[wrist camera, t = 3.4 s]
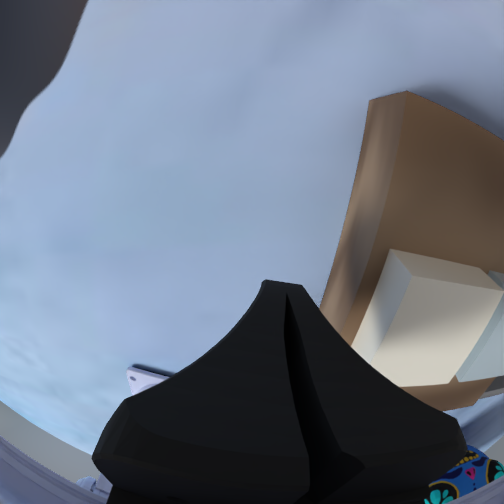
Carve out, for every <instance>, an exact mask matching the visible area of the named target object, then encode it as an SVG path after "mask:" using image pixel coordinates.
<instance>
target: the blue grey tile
mask: <svg viewBox="0 0 504 504" xmlns="http://www.w3.org/2000/svg"><path fill="white" fill-rule="evenodd" d="M488 276H489V277H490V278H491V279H492V280H493V281H494V282H495V283H496V284H497V285H498V286H500V287H501V288H502V289H503V290H504V274H503V273H499V272H495V271H490V270H489V273H488ZM455 375H456V377H457V379H458V381H459V382H466V381H473V380H480V379H486V378H492V377H498V376H503V375H504V293H503V296H502V298H501V300H500V302H499V304H498V306H497V308H496V309H495V311H494V313H493V315H492V317H491V319H490V321H489V322H488V324H487V326H486V328H485V329H484V331H483V333H482V334H481V336H480V338H479V339H478V341H477V343H476V344H475V346H474V347H473V349H472V351H471V352H470V354H469V355H468V357H467V358H466V360H465V361H464V363H463V364H462V365H461V367H460V368H459V370H458V371H457V372H456V374H455Z"/></svg>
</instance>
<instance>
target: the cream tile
mask: <svg viewBox="0 0 504 504" xmlns="http://www.w3.org/2000/svg"><path fill="white" fill-rule="evenodd" d="M503 293H504V290H503V289H502V288H501V287H500V286H498V285H497V284H496V283H495V282H494V281H493V280H492V279H491V278H490V277H489V276H488V275H487V274H486V273H485V272H484V271H482V270H481V269H480V268H478V267H473V266H469V265H464V264H460V263H456V262H451V261H446V260H442V259H437V258H433V257H428V256H423V255H418V254H414V253H409V252H404V251H399V250H394V249H390V250H389V253H388V256H387V259H386V262H385V265H384V267H383V270H382V273H381V276H380V278H379V281H378V284H377V286H376V289H375V292H374V294H373V297H372V299H371V302H370V304H369V307H368V309H367V311H366V314H365V316H364V318H363V321H362V323H361V325H360V328H359V330H358V332H357V334H356V336H355V339H354V341H353V343H352V345H351V347H352V348H353V349H354V350H355V351H356V352H357V353H358V354H359V355H360V356H361V357H362V358H363V359H364V360H365V361H366V362H368V363H369V364H370V365H371V366H372V367H373V368H375V369H376V370H377V371H378V372H380V373H381V374H382V375H383V376H385V377H386V378H387V379H389V380H390V381H391V382H393V383H394V384H395V385H397V386H398V387H408V386H425V385H438V384H448V383H449V382H450V381H451V379H452V378H453V377H454V375H455V374H456V372H457V371H458V370H459V368H460V367H461V365H462V364H463V363H464V361H465V360H466V358H467V357H468V355H469V354H470V352H471V351H472V349H473V347H474V346H475V344H476V343H477V341H478V339H479V338H480V336H481V334H482V333H483V331H484V329H485V328H486V326H487V324H488V322H489V321H490V319H491V317H492V315H493V313H494V311H495V309H496V308H497V306H498V304H499V302H500V300H501V298H502V296H503Z"/></svg>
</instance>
